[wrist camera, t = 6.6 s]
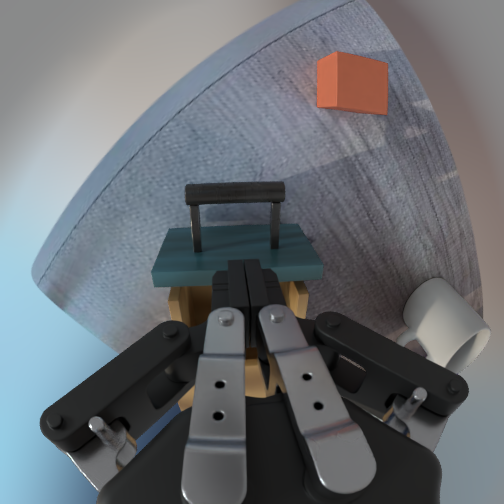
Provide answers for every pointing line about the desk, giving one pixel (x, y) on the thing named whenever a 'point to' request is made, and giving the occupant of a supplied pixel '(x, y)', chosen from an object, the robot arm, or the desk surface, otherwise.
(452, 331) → the mug
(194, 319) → the drawer
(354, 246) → the desk surface
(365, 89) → the block
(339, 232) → the desk surface
